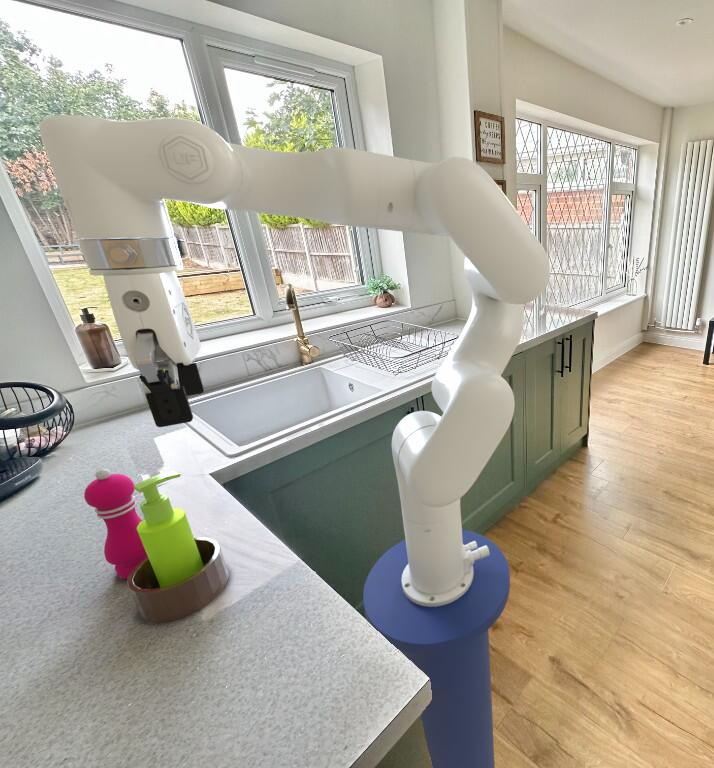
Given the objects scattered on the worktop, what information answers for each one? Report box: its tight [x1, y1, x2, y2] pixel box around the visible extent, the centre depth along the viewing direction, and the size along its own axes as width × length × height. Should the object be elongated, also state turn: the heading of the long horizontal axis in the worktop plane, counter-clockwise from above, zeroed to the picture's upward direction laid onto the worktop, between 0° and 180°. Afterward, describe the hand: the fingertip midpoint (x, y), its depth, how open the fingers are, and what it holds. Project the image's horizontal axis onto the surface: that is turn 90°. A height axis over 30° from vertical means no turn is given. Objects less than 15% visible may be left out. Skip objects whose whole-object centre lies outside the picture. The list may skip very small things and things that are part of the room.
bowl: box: [126, 536, 230, 624], centre depth 68 cm, size 12×12×6 cm
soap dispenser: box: [134, 470, 204, 588], centre depth 66 cm, size 6×7×20 cm
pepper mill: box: [83, 468, 148, 580], centre depth 70 cm, size 7×7×20 cm
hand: (183, 408), depth 49 cm, fingers open, 9 cm apart
